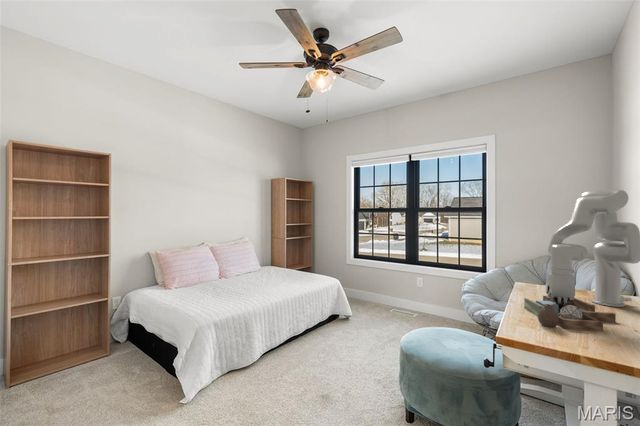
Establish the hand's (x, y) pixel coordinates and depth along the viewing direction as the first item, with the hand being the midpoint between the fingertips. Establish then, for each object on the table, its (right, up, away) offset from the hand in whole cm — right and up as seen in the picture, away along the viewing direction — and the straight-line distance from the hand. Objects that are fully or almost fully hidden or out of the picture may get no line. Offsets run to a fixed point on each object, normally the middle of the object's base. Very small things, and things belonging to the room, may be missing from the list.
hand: (560, 311), depth 136 cm
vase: (-17, -1, -15) cm, 22 cm away
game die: (-5, -1, -11) cm, 12 cm away
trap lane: (+3, -1, -1) cm, 4 cm away
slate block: (-5, -1, +1) cm, 6 cm away
